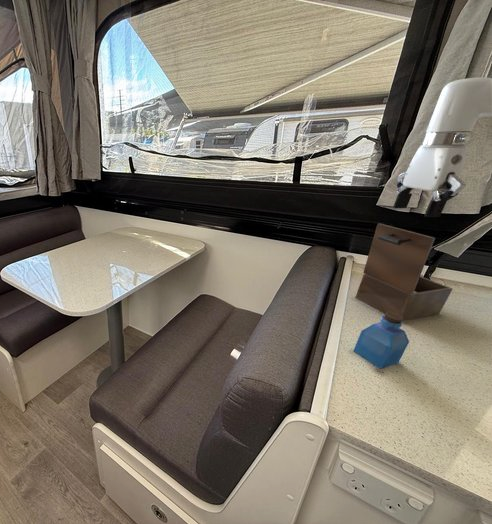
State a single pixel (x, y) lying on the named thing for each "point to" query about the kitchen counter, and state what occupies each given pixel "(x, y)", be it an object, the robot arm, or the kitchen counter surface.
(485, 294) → the kitchen counter surface
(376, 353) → the perfume bottle
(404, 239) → the lid
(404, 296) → the chest
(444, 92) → the robot arm
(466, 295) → the kitchen counter surface
